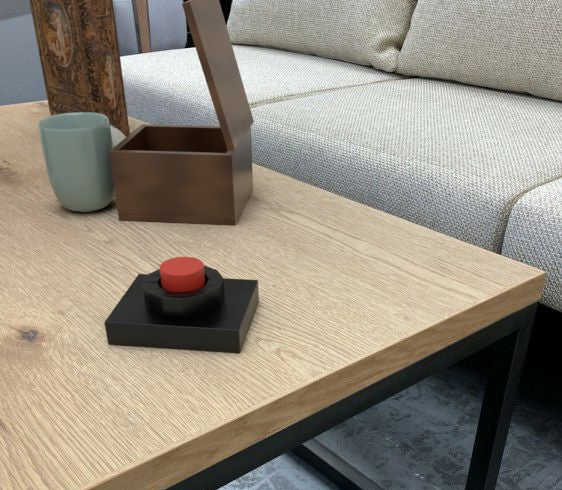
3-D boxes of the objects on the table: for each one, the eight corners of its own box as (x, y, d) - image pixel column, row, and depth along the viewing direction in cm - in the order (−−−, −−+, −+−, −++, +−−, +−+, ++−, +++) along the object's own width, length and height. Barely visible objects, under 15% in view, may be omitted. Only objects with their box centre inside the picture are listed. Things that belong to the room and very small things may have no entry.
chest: (118, 220, 80) (108, 151, 76) (148, 186, 90) (141, 124, 85) (235, 225, 78) (231, 155, 74) (253, 190, 88) (251, 126, 84)
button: (156, 293, 57) (153, 273, 56) (168, 274, 60) (166, 255, 59) (199, 295, 56) (197, 276, 55) (209, 276, 59) (208, 257, 58)
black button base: (107, 345, 57) (100, 302, 55) (141, 295, 65) (136, 254, 62) (240, 354, 56) (237, 310, 54) (259, 301, 63) (257, 260, 61)
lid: (181, 3, 67) (189, 1, 66) (209, -9, 76) (215, -11, 76) (227, 151, 74) (235, 150, 74) (247, 123, 83) (254, 122, 83)
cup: (127, 195, 87) (116, 111, 81) (112, 218, 81) (99, 129, 75) (65, 195, 87) (50, 112, 82) (46, 218, 81) (27, 129, 75)
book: (135, 139, 108) (111, -50, 94) (103, 146, 105) (74, -48, 91) (82, 120, 118) (54, -53, 104) (52, 126, 115) (19, -52, 101)
